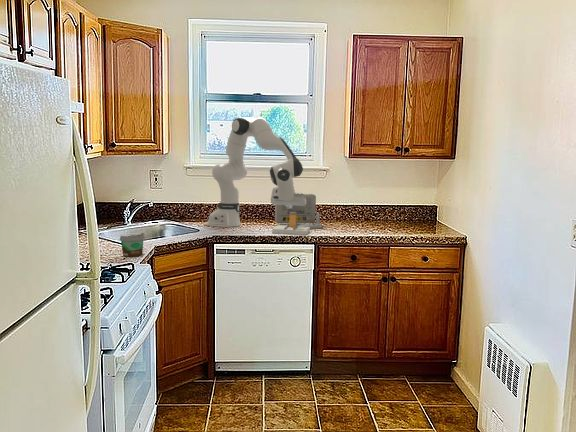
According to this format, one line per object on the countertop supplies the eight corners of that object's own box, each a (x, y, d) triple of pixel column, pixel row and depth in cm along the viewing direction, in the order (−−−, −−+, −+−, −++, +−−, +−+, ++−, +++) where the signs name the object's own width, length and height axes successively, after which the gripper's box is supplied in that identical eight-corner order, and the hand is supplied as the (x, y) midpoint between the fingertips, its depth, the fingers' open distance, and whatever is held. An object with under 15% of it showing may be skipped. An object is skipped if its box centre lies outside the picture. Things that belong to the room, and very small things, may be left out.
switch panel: (272, 233, 323) (272, 227, 322) (277, 229, 336) (277, 223, 336) (305, 235, 319) (306, 229, 319) (309, 231, 333) (309, 225, 332)
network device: (312, 223, 359) (313, 193, 356) (316, 226, 350) (317, 195, 347) (274, 224, 352) (274, 193, 349) (277, 227, 344) (278, 195, 341)
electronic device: (297, 213, 342) (320, 211, 347) (298, 228, 344) (320, 227, 348) (300, 214, 337) (323, 213, 342) (300, 230, 339) (323, 228, 343)
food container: (127, 259, 250) (127, 237, 249) (120, 257, 254) (119, 235, 253) (150, 255, 259) (150, 234, 258) (143, 253, 263) (142, 232, 262)
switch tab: (288, 226, 330) (289, 212, 329) (290, 226, 333) (290, 212, 332) (295, 227, 329) (295, 213, 328) (296, 226, 332) (296, 212, 331)
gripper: (306, 189, 308) (308, 204, 319) (270, 187, 311) (273, 202, 322) (304, 198, 304) (306, 213, 315) (268, 196, 308) (272, 211, 319)
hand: (289, 207), depth 319 cm, fingers closed
